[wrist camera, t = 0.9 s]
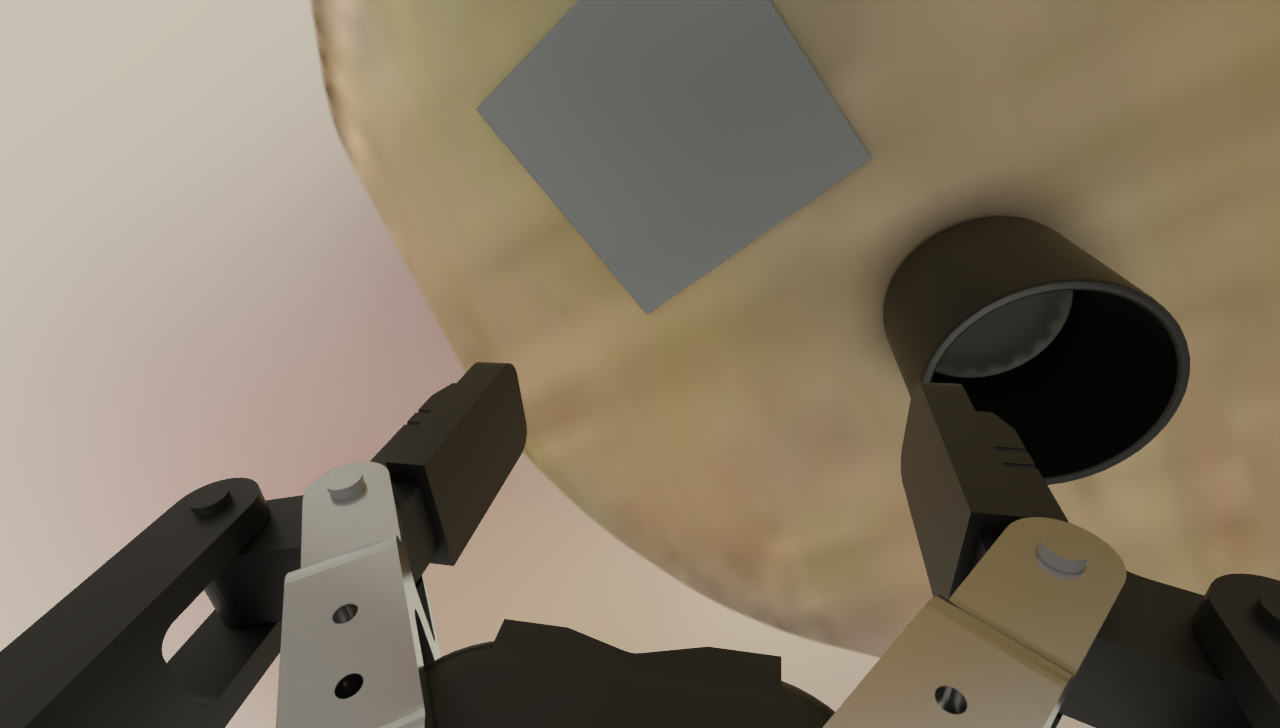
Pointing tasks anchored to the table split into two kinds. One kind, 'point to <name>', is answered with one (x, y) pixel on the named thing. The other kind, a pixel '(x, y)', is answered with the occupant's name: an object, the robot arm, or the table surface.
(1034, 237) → the mug
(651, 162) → the mat
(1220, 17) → the table surface
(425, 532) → the robot arm
